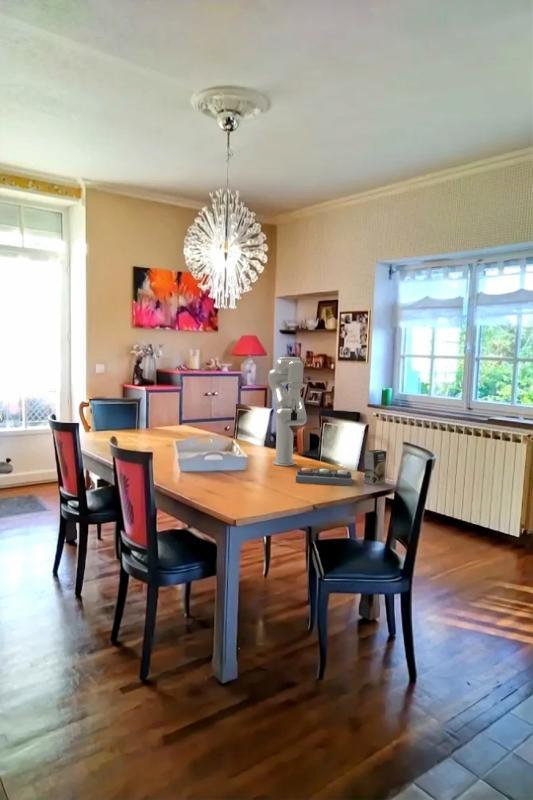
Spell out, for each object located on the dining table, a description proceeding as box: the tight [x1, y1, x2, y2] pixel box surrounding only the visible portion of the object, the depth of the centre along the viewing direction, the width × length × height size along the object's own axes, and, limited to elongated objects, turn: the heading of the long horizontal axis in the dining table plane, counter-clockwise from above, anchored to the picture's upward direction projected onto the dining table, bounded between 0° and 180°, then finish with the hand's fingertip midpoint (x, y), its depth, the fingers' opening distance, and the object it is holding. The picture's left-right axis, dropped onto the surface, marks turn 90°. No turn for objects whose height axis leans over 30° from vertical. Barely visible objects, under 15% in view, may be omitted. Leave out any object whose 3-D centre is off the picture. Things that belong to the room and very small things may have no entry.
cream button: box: [336, 469, 348, 475], centre depth 264 cm, size 5×5×2 cm
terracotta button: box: [300, 467, 312, 472], centre depth 266 cm, size 5×5×2 cm
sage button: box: [318, 468, 330, 473], centre depth 265 cm, size 5×5×2 cm
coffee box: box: [363, 449, 387, 486], centre depth 263 cm, size 9×6×16 cm
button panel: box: [295, 468, 353, 486], centre depth 265 cm, size 14×27×4 cm, turn 81°
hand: (293, 420), depth 277 cm, fingers closed
